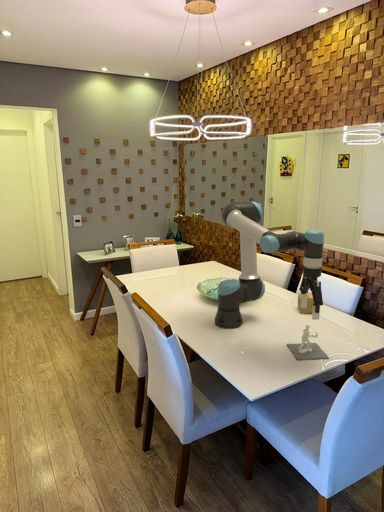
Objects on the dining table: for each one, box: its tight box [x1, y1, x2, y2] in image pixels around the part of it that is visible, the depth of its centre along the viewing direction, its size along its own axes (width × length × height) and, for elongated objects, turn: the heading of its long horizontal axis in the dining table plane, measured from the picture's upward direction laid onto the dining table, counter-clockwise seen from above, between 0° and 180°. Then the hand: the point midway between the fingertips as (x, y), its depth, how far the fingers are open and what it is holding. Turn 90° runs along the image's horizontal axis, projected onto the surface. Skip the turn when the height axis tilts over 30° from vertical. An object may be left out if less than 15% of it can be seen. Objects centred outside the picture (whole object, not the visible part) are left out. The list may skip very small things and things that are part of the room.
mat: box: [286, 342, 330, 361], centre depth 159 cm, size 14×14×1 cm
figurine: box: [298, 324, 319, 353], centre depth 158 cm, size 5×9×12 cm, turn 122°
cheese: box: [297, 292, 314, 315], centre depth 206 cm, size 10×11×10 cm
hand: (309, 313), depth 156 cm, fingers open, 13 cm apart
